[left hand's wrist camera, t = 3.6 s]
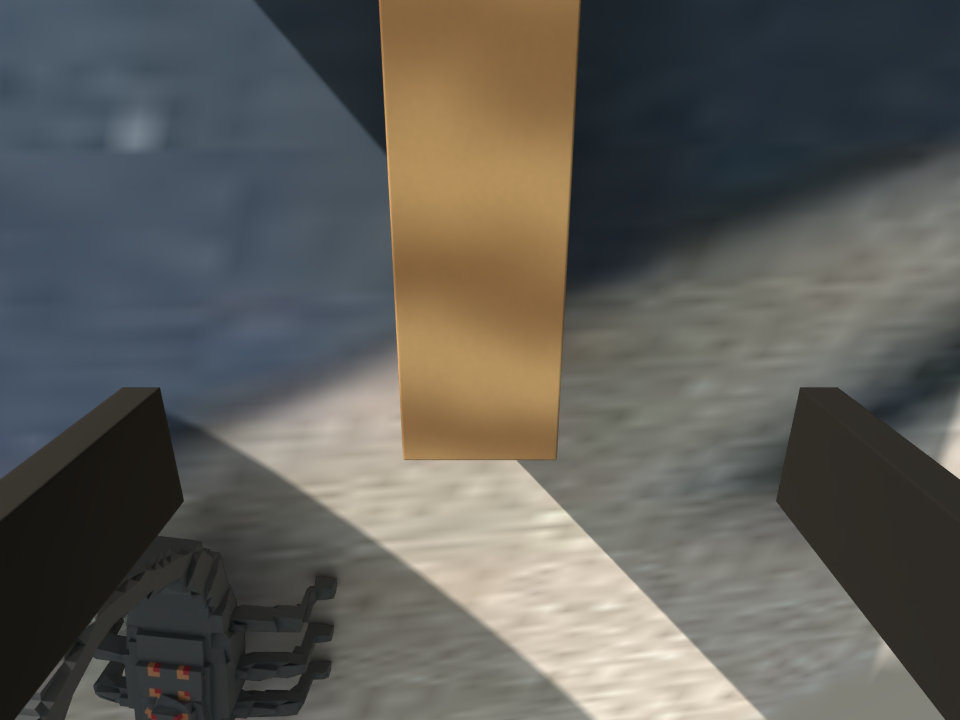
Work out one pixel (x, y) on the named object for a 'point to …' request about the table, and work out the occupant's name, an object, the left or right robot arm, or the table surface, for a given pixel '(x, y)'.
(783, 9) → the table surface
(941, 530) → the left robot arm
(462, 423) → the oak beam
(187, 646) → the toy
